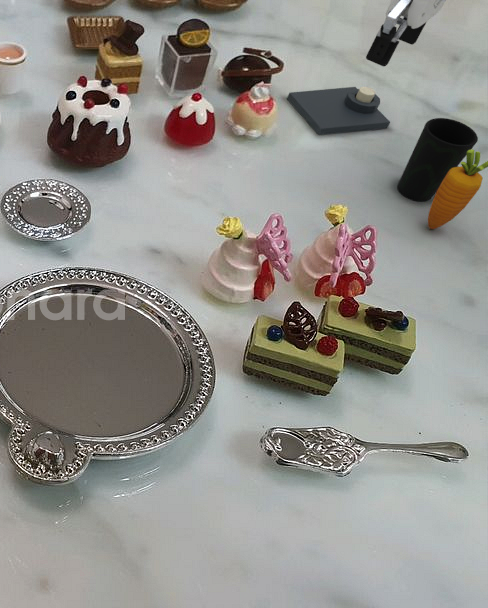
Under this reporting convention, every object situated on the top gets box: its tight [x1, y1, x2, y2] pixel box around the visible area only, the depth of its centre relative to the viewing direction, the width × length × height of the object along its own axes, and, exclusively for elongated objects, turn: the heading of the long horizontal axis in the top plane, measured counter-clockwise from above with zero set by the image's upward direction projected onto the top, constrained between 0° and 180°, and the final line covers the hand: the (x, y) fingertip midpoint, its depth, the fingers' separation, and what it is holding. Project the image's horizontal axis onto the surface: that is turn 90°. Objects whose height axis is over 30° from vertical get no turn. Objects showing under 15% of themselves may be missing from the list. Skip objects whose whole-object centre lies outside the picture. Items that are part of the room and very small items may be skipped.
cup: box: [396, 117, 479, 203], centre depth 123 cm, size 8×8×12 cm
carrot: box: [427, 148, 488, 230], centre depth 115 cm, size 5×5×15 cm
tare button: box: [356, 86, 376, 103], centre depth 140 cm, size 3×3×2 cm
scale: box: [286, 86, 391, 136], centre depth 141 cm, size 14×12×3 cm
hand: (390, 51), depth 116 cm, fingers open, 9 cm apart
